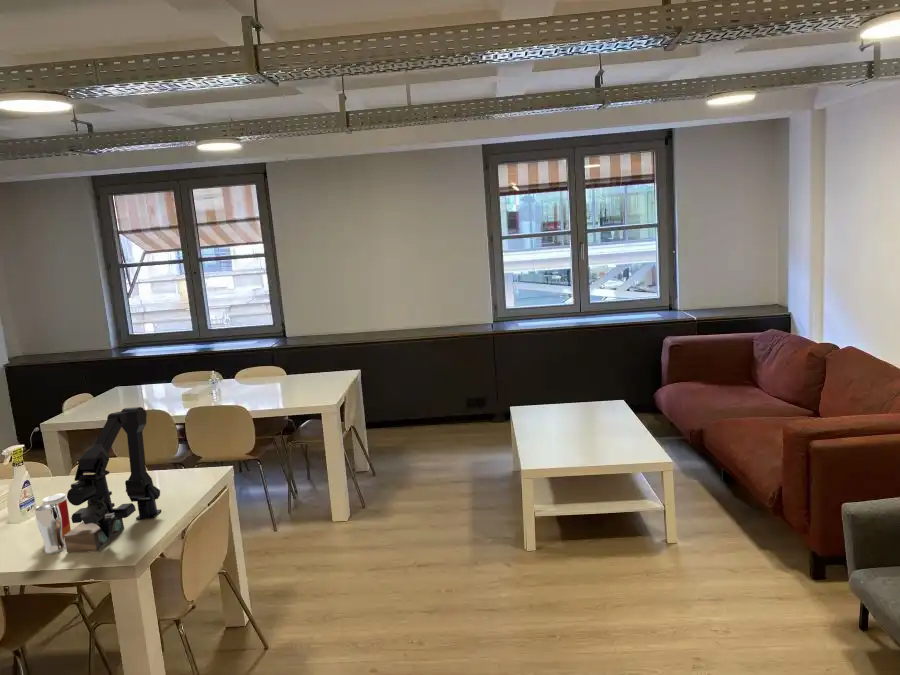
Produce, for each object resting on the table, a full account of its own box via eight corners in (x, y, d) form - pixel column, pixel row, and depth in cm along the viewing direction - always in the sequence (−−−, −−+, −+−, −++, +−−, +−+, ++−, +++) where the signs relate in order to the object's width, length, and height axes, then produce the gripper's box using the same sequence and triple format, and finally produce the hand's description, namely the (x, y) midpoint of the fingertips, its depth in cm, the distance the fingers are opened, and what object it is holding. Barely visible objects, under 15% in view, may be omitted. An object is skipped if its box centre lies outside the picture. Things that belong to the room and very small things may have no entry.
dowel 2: (96, 529, 233) (94, 520, 232) (121, 528, 232) (119, 518, 231) (90, 534, 229) (88, 524, 228) (116, 532, 228) (114, 522, 228)
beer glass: (71, 543, 226) (62, 501, 224) (60, 553, 219) (51, 510, 217) (50, 546, 226) (41, 503, 224) (38, 556, 219) (29, 512, 217)
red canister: (46, 537, 234) (38, 498, 232) (70, 528, 239) (62, 491, 237) (52, 542, 229) (44, 503, 226) (77, 534, 234) (69, 495, 231)
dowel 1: (82, 540, 225) (80, 530, 224) (108, 538, 224) (106, 528, 223) (76, 546, 221) (74, 535, 220) (102, 544, 220) (100, 533, 220)
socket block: (95, 530, 235) (92, 514, 234) (124, 528, 234) (121, 512, 233) (67, 553, 219) (63, 535, 218) (97, 551, 218) (94, 533, 217)
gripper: (55, 505, 212) (66, 552, 215) (112, 499, 211) (123, 546, 213) (77, 491, 223) (87, 535, 226) (131, 485, 222) (141, 530, 224)
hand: (109, 537), depth 222 cm, fingers closed
